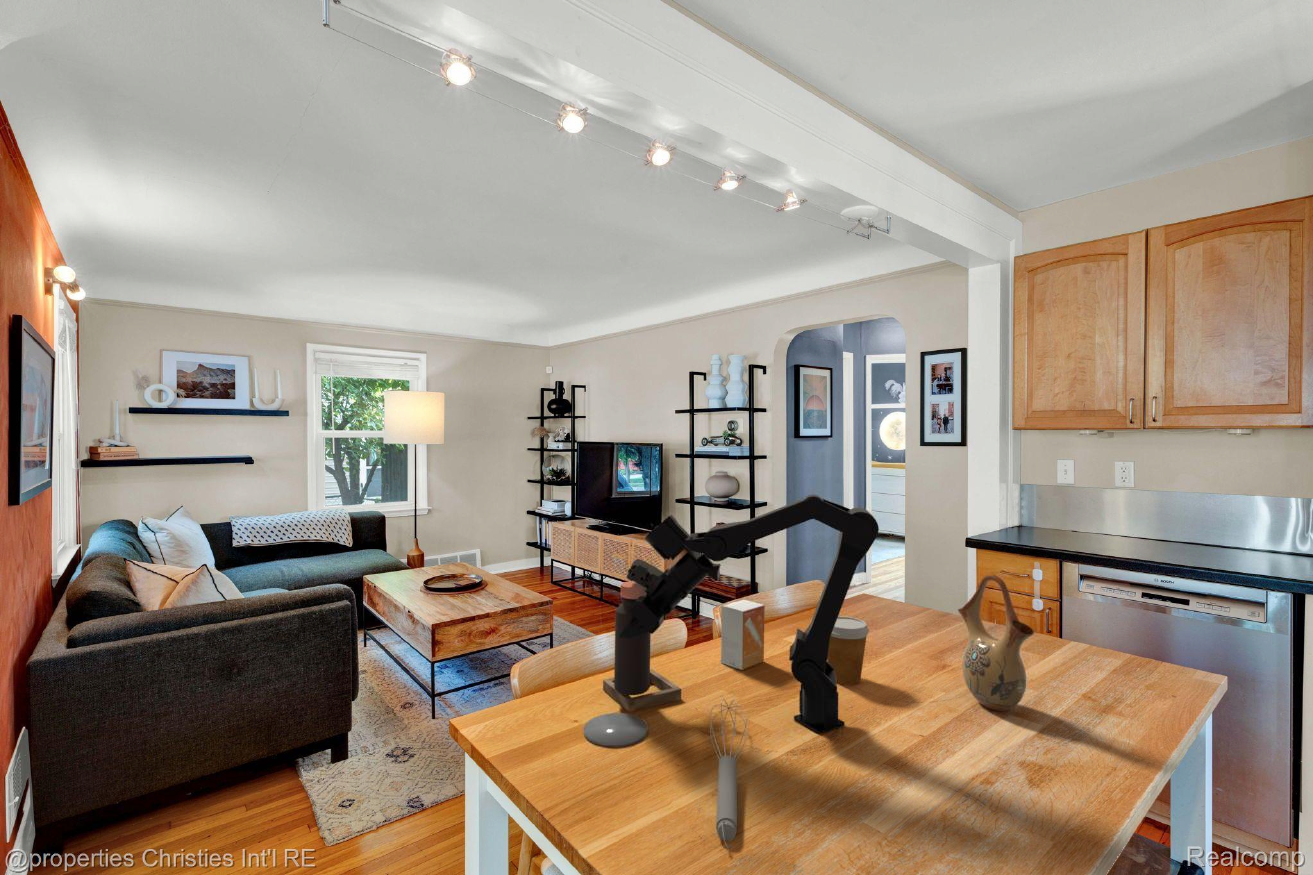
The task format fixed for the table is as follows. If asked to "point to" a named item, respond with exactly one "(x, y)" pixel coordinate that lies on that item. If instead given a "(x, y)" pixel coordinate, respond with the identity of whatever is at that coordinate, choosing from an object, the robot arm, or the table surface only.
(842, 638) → the disposable coffee cup
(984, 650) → the ceramic vessel
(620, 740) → the slate coaster
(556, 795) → the table surface
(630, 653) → the vinegar
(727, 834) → the kitchen whisk
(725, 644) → the small box
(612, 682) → the bottle caddy
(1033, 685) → the table surface
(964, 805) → the table surface
